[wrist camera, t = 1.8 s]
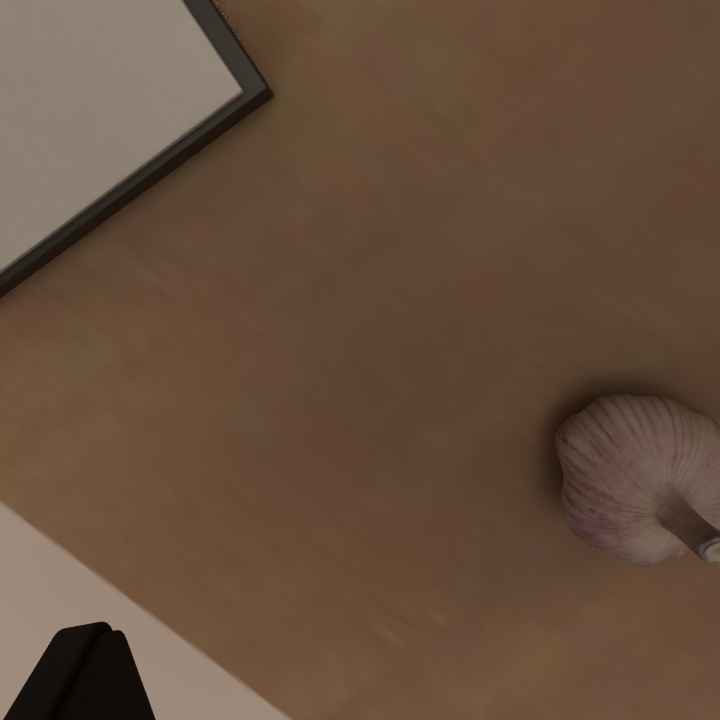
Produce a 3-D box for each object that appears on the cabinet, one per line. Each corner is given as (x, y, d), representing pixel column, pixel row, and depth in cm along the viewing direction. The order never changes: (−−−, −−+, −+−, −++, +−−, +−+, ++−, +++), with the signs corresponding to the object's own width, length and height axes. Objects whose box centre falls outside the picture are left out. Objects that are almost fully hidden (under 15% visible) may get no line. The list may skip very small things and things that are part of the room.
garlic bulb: (520, 406, 27) (591, 500, 20) (690, 346, 27) (832, 419, 19) (566, 552, 29) (647, 690, 22) (724, 500, 29) (865, 621, 21)
